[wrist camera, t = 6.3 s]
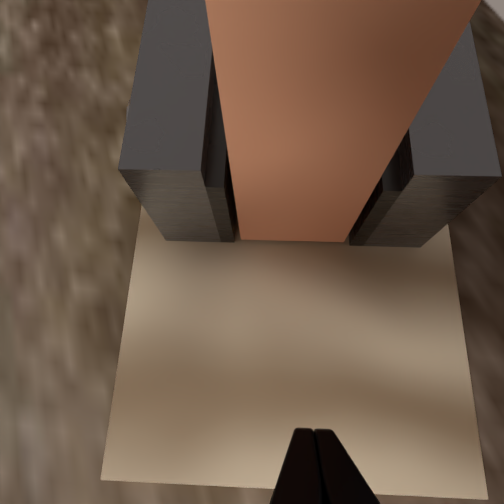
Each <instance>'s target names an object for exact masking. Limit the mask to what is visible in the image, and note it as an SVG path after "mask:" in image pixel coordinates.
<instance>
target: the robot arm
mask: <svg viewBox="0 0 504 504" xmlns="http://www.w3.org/2000/svg"><path fill="white" fill-rule="evenodd" d="M270 504H380V502H379V500H378V499H377V497H376V496H375V494H374V493H373V491H372V490H371V488H370V487H369V485H368V483H367V482H366V480H365V479H364V477H363V476H362V474H361V473H360V471H359V469H358V468H357V466H356V465H355V463H354V462H353V460H352V459H351V457H350V456H349V454H348V452H347V451H346V449H345V448H344V446H343V445H342V443H341V442H340V440H339V438H338V437H337V435H336V434H335V432H334V431H333V430H331V429H323V428H316V429H314V431H313V429H311V428H300V427H297V428H295V429H294V431H293V434H292V437H291V440H290V443H289V446H288V449H287V452H286V455H285V458H284V461H283V464H282V468H281V471H280V474H279V477H278V480H277V483H276V486H275V489H274V492H273V495H272V498H271V501H270Z"/></svg>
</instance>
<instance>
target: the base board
mask: <svg viewBox="0 0 504 504" xmlns="http://www.w3.org/2000/svg"><path fill="white" fill-rule="evenodd" d="M297 427H300V428H311V429H313V431H314V429H316V428H323V429H331V430H333V431H334V432H335V434H336V435H337V437H338V438H339V440H340V442H341V443H342V445H343V446H344V448H345V449H346V451H347V452H348V454H349V456H350V457H351V459H352V460H353V462H354V463H355V465H356V466H357V468H358V469H359V471H360V473H361V474H362V476H363V477H364V479H365V480H366V482H367V483H368V485H369V487H370V488H371V490H372V491H373V493H374V494H386V495H405V496H425V497H444V498H464V499H484V500H488V494H487V487H486V480H485V474H484V467H483V460H482V453H481V446H480V439H479V433H478V426H477V419H476V412H475V405H474V398H473V391H472V385H471V378H470V371H469V364H468V357H467V350H466V344H465V337H464V330H463V323H462V316H461V309H460V303H459V296H458V289H457V282H456V275H455V268H454V262H453V255H452V248H451V241H450V234H449V227H448V224H447V225H446V226H445V227H443V228H442V229H441V230H440V231H439V232H438V233H437V234H435V235H434V236H433V237H432V238H431V239H430V240H428V241H427V242H426V243H425V244H424V245H423V246H422V247H420V248H416V247H379V246H349V234H348V236H347V237H346V239H345V241H344V242H315V241H277V240H241V237H240V230H239V223H238V217H237V210H236V226H235V243H228V242H190V241H166V240H165V239H164V237H163V236H162V234H161V233H160V231H159V230H158V228H157V227H156V225H155V224H154V222H153V221H152V219H151V218H150V216H149V215H148V213H147V212H146V210H145V209H144V207H143V206H142V207H141V214H140V220H139V227H138V234H137V240H136V247H135V254H134V260H133V267H132V274H131V280H130V287H129V294H128V300H127V307H126V314H125V320H124V327H123V334H122V340H121V347H120V354H119V360H118V367H117V374H116V380H115V387H114V394H113V400H112V407H111V414H110V420H109V427H108V434H107V440H106V447H105V453H104V460H103V467H102V473H101V480H111V481H131V482H151V483H170V484H190V485H209V486H229V487H249V488H268V489H275V486H276V483H277V480H278V477H279V474H280V471H281V468H282V464H283V461H284V458H285V455H286V452H287V449H288V446H289V443H290V440H291V437H292V434H293V431H294V429H295V428H297Z"/></svg>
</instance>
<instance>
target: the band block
mask: <svg viewBox="0 0 504 504" xmlns="http://www.w3.org/2000/svg"><path fill="white" fill-rule="evenodd" d="M118 170H119V171H120V173H121V174H122V176H123V177H124V179H125V180H126V182H127V183H128V185H129V186H130V188H131V189H132V191H133V192H134V194H135V195H136V197H137V198H138V200H139V201H140V203H141V204H142V206H143V207H144V209H145V210H146V212H147V213H148V215H149V216H150V218H151V219H152V221H153V222H154V224H155V225H156V227H157V228H158V230H159V231H160V233H161V234H162V236H163V237H164V239H165V240H166V241H190V242H228V243H235V226H236V203H235V197H234V190H233V183H232V177H231V170H230V163H229V156H228V150H227V143H226V136H225V130H224V123H223V116H222V110H221V103H220V96H219V89H218V83H217V76H216V69H215V63H214V56H213V49H212V43H211V36H210V29H209V22H208V16H207V9H206V2H205V0H148V5H147V11H146V16H145V22H144V27H143V33H142V38H141V44H140V49H139V55H138V61H137V66H136V72H135V77H134V83H133V88H132V94H131V99H130V100H129V102H128V106H127V122H126V127H125V133H124V138H123V144H122V150H121V155H120V161H119V166H118ZM501 177H502V174H501V170H500V165H499V160H498V155H497V150H496V145H495V141H494V136H493V131H492V126H491V121H490V117H489V112H488V107H487V102H486V97H485V92H484V88H483V83H482V78H481V73H480V68H479V63H478V59H477V54H476V49H475V44H474V39H473V35H472V30H471V25H470V21H469V23H468V25H467V26H466V28H465V30H464V32H463V33H462V35H461V37H460V39H459V40H458V42H457V44H456V46H455V47H454V49H453V51H452V53H451V54H450V56H449V58H448V60H447V62H446V63H445V65H444V67H443V69H442V70H441V72H440V74H439V76H438V77H437V79H436V81H435V83H434V84H433V86H432V88H431V90H430V91H429V93H428V95H427V97H426V98H425V100H424V102H423V104H422V106H421V107H420V109H419V111H418V113H417V114H416V116H415V118H414V120H413V121H412V123H411V125H410V127H409V128H408V130H407V132H406V134H405V135H404V137H403V139H402V141H401V142H400V144H399V146H398V148H397V149H396V151H395V153H394V155H393V157H392V158H391V160H390V162H389V164H388V165H387V167H386V169H385V171H384V172H383V174H382V176H381V178H380V179H379V181H378V183H377V185H376V186H375V188H374V190H373V192H372V193H371V195H370V197H369V199H368V201H367V202H366V204H365V206H364V208H363V209H362V211H361V213H360V215H359V216H358V218H357V220H356V222H355V223H354V225H353V227H352V229H351V230H350V232H349V246H379V247H416V248H420V247H422V246H423V245H424V244H425V243H426V242H427V241H428V240H430V239H431V238H432V237H433V236H434V235H435V234H437V233H438V232H439V231H440V230H441V229H442V228H443V227H445V226H446V225H447V224H448V223H449V222H450V221H451V220H453V219H454V218H455V217H456V216H457V215H458V214H459V213H461V212H462V211H463V210H464V209H465V208H466V207H467V206H469V205H470V204H471V203H472V202H473V201H474V200H476V199H477V198H478V197H479V196H480V195H481V194H482V193H484V192H485V191H486V190H487V189H488V188H489V187H490V186H492V185H493V184H494V183H495V182H496V181H497V180H498V179H500V178H501Z"/></svg>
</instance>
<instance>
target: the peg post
mask: <svg viewBox="0 0 504 504" xmlns="http://www.w3.org/2000/svg"><path fill="white" fill-rule="evenodd" d="M205 2H206V9H207V16H208V22H209V29H210V36H211V43H212V49H213V56H214V63H215V69H216V76H217V83H218V89H219V96H220V103H221V110H222V116H223V123H224V130H225V136H226V143H227V150H228V156H229V163H230V170H231V177H232V183H233V190H234V197H235V203H236V210H237V217H238V223H239V230H240V237H241V240H277V241H315V242H344V241H345V239H346V237H347V236H348V234H349V232H350V230H351V229H352V227H353V225H354V223H355V222H356V220H357V218H358V216H359V215H360V213H361V211H362V209H363V208H364V206H365V204H366V202H367V201H368V199H369V197H370V195H371V193H372V192H373V190H374V188H375V186H376V185H377V183H378V181H379V179H380V178H381V176H382V174H383V172H384V171H385V169H386V167H387V165H388V164H389V162H390V160H391V158H392V157H393V155H394V153H395V151H396V149H397V148H398V146H399V144H400V142H401V141H402V139H403V137H404V135H405V134H406V132H407V130H408V128H409V127H410V125H411V123H412V121H413V120H414V118H415V116H416V114H417V113H418V111H419V109H420V107H421V106H422V104H423V102H424V100H425V98H426V97H427V95H428V93H429V91H430V90H431V88H432V86H433V84H434V83H435V81H436V79H437V77H438V76H439V74H440V72H441V70H442V69H443V67H444V65H445V63H446V62H447V60H448V58H449V56H450V54H451V53H452V51H453V49H454V47H455V46H456V44H457V42H458V40H459V39H460V37H461V35H462V33H463V32H464V30H465V28H466V26H467V25H468V23H469V21H470V19H471V18H472V16H473V14H474V12H475V10H476V9H477V7H478V5H479V3H480V2H481V0H205Z"/></svg>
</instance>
